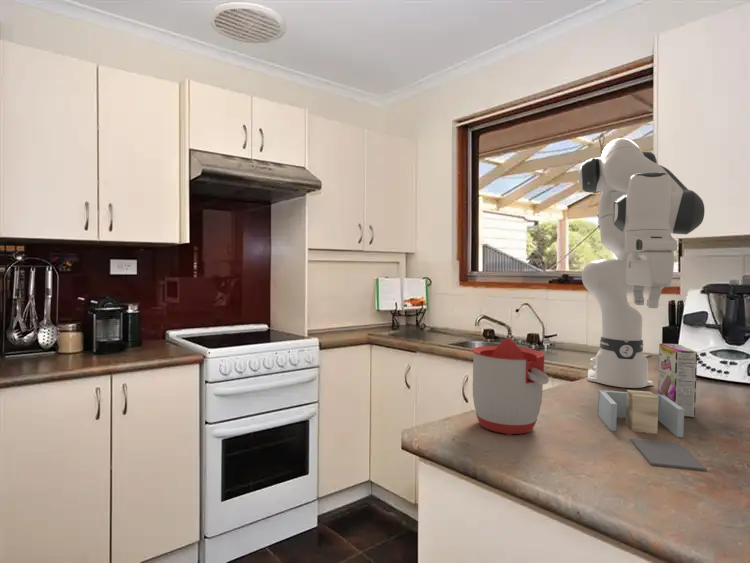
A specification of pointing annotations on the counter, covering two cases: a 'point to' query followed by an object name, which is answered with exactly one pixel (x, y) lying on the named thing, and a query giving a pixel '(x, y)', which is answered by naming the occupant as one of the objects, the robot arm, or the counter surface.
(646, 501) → the counter surface
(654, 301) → the robot arm
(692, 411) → the candy bar box
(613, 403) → the open-side box
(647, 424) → the birch block
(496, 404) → the citrus juicer
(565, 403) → the counter surface
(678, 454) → the charcoal mat
